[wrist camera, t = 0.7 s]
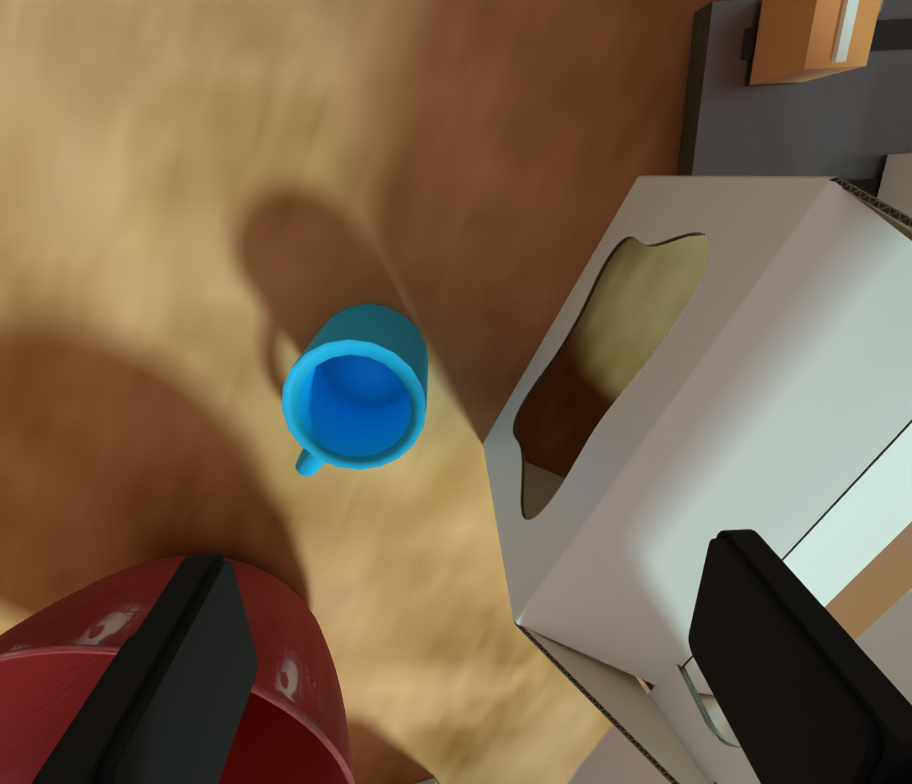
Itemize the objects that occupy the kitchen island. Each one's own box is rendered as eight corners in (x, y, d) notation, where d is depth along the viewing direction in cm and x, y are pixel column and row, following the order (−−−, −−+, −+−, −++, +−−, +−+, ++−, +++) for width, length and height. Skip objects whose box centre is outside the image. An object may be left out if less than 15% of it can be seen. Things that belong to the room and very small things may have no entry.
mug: (352, 280, 34) (329, 309, 26) (450, 347, 36) (454, 392, 28) (267, 411, 37) (225, 470, 30) (361, 465, 39) (343, 533, 32)
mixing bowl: (150, 418, 37) (-25, 568, 23) (445, 598, 45) (450, 790, 31) (0, 636, 45) (-200, 847, 31) (274, 756, 53) (215, 967, 39)
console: (695, 12, 28) (714, 0, 26) (1006, -6, 29) (1050, -20, 27) (670, 232, 33) (686, 236, 31) (938, 216, 33) (970, 218, 31)
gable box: (617, 503, 42) (896, 1008, 17) (479, 445, 40) (559, 942, 14) (795, 262, 35) (1805, 510, 9) (639, 169, 32) (1453, 152, 6)
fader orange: (762, -3, 26) (828, -39, 22) (819, -7, 26) (896, -43, 22) (749, 85, 28) (808, 68, 24) (802, 81, 28) (871, 64, 24)
